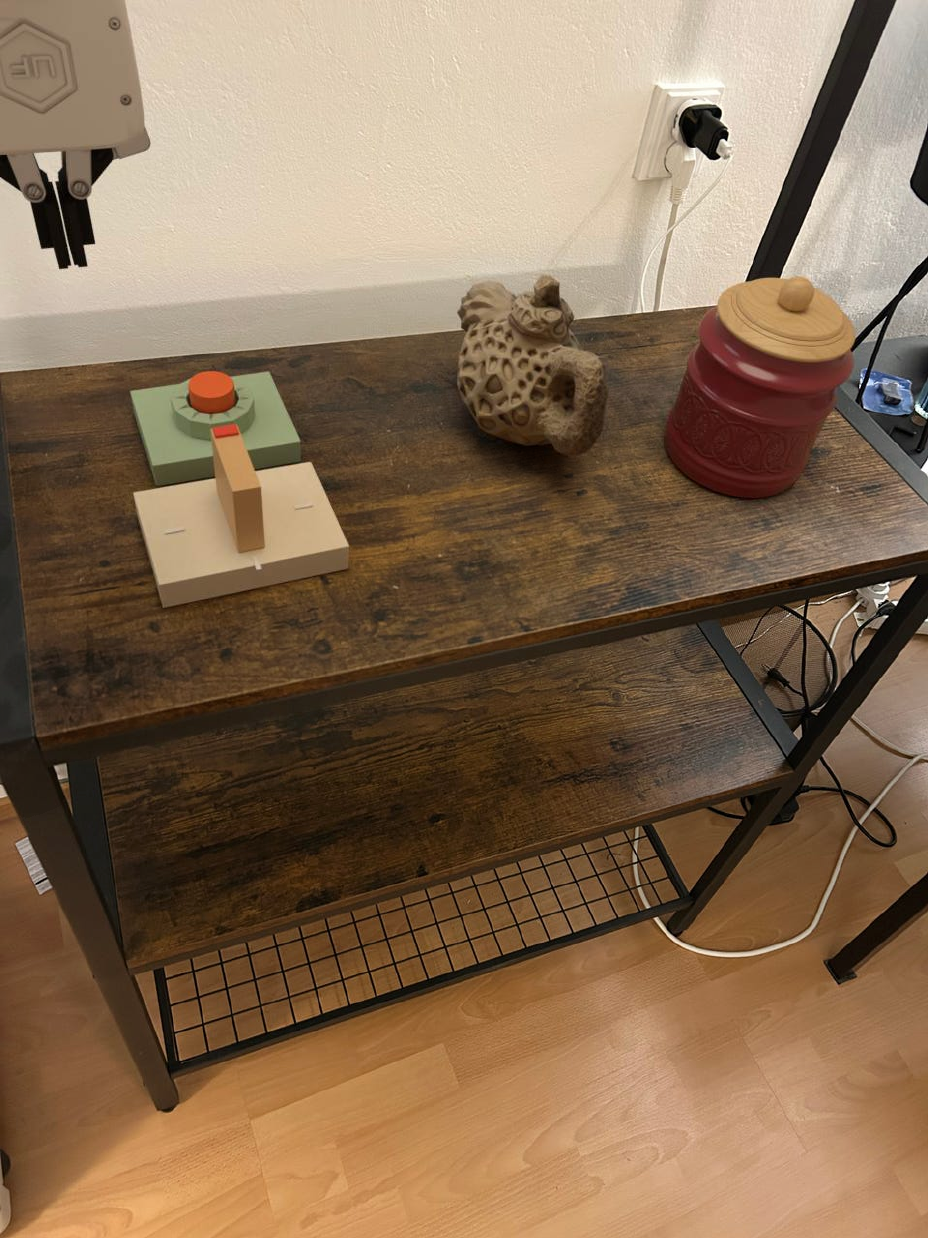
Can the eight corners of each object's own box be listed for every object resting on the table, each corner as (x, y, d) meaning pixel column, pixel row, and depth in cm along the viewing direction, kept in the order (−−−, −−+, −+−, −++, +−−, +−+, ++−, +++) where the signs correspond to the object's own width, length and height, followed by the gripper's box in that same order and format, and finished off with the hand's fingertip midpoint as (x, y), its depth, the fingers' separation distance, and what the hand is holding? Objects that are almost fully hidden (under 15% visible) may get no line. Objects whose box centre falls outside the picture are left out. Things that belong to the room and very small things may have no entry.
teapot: (411, 376, 92) (424, 224, 80) (517, 354, 96) (543, 206, 85) (521, 524, 80) (554, 370, 69) (635, 491, 84) (684, 342, 73)
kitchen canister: (635, 424, 90) (689, 247, 77) (745, 399, 95) (814, 228, 82) (713, 515, 83) (788, 337, 70) (829, 484, 88) (919, 312, 75)
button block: (156, 486, 78) (149, 447, 75) (133, 411, 84) (126, 372, 81) (301, 461, 82) (300, 423, 79) (270, 391, 88) (268, 353, 85)
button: (195, 418, 79) (193, 400, 77) (186, 391, 81) (184, 373, 79) (239, 411, 80) (238, 393, 78) (229, 385, 82) (227, 368, 80)
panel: (164, 614, 70) (160, 589, 68) (136, 510, 76) (131, 485, 74) (351, 574, 74) (352, 549, 72) (309, 479, 81) (309, 455, 79)
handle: (264, 547, 72) (260, 483, 67) (238, 552, 71) (232, 488, 66) (242, 485, 76) (237, 421, 71) (216, 490, 75) (209, 425, 70)
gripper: (-204, -107, 39) (-66, 305, 52) (177, -99, 43) (212, 276, 57) (-201, -158, 43) (-74, 236, 57) (145, -145, 48) (185, 214, 62)
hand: (70, 255), depth 57 cm, fingers closed
